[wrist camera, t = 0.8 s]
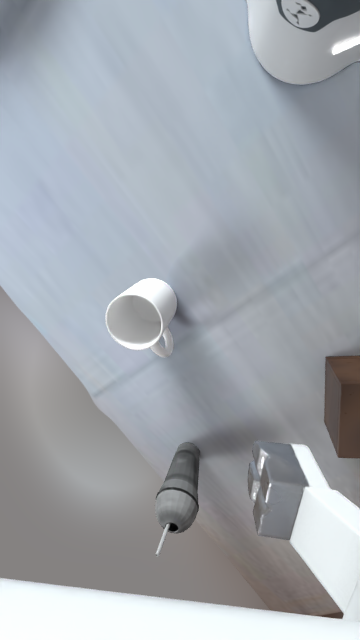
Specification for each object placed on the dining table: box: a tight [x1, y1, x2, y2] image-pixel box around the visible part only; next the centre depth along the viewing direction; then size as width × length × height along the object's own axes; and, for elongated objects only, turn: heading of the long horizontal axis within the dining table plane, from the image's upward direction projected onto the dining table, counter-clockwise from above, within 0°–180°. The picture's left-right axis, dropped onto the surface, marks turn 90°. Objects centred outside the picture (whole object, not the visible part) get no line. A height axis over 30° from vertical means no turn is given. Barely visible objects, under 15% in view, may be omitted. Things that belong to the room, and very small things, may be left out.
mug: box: [106, 279, 177, 357], centre depth 45 cm, size 12×8×10 cm
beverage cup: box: [155, 443, 199, 557], centre depth 50 cm, size 7×7×20 cm
